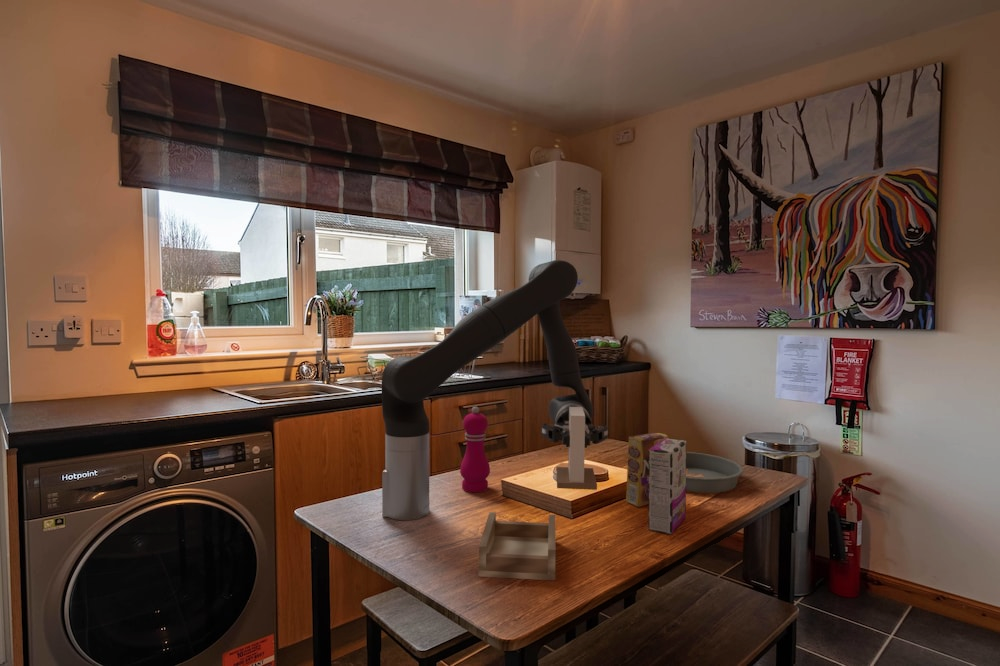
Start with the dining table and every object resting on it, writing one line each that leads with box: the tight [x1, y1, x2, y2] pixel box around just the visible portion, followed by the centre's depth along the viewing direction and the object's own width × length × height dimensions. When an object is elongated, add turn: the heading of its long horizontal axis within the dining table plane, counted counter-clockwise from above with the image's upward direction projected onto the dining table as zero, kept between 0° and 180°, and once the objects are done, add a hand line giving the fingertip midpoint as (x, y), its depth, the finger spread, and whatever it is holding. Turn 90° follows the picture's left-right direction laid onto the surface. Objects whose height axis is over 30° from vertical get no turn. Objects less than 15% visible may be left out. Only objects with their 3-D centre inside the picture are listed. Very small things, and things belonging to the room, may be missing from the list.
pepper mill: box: [459, 406, 491, 493], centre depth 136 cm, size 7×7×20 cm
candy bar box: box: [648, 438, 687, 535], centre depth 114 cm, size 11×5×16 cm, turn 148°
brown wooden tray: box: [478, 511, 557, 581], centre depth 98 cm, size 12×15×5 cm
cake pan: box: [686, 451, 745, 494], centre depth 145 cm, size 25×25×4 cm
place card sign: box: [556, 407, 598, 491], centre depth 104 cm, size 7×10×13 cm
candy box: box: [625, 432, 669, 508], centre depth 127 cm, size 9×4×15 cm, turn 123°
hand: (576, 442), depth 103 cm, fingers closed on place card sign, 2 cm apart
